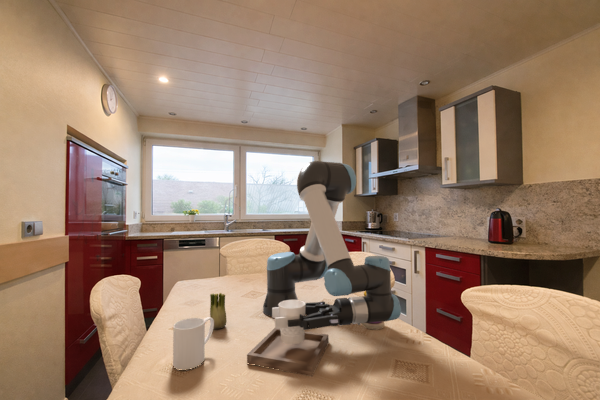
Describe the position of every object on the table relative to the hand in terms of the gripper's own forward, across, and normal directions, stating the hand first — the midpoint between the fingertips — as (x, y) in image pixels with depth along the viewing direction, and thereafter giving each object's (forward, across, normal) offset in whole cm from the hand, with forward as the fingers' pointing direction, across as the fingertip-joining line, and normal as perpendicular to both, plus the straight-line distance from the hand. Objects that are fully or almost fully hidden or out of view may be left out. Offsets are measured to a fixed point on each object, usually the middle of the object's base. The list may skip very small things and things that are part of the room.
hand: (273, 317), depth 76 cm
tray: (-5, 0, -10) cm, 11 cm away
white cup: (-5, 0, -7) cm, 9 cm away
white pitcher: (+22, +3, -10) cm, 24 cm away
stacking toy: (-36, +12, -10) cm, 39 cm away
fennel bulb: (+18, +24, -10) cm, 31 cm away
